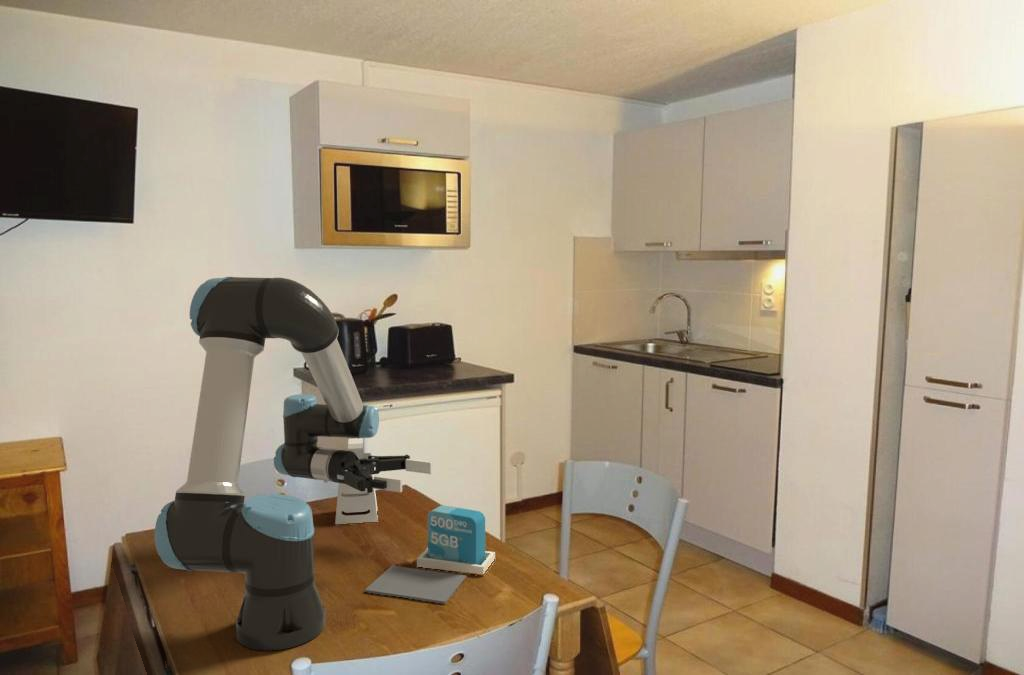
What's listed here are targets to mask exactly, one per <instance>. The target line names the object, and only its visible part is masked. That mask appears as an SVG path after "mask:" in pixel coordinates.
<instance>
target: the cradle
mask: <svg viewBox="0 0 1024 675" xmlns="http://www.w3.org/2000/svg"><path fill="white" fill-rule="evenodd" d="M485 559H486V560H485V561H484V562H483V563H482V565H476V564H469V563H461V562H453V561H446V560H438V559H430V558H428V547H426V549H425V550H424V551H423V552H422V553H421V554H420V555H418V556H417V558H416V568H418V567H423V568H422V569H425V568H433V569H435V568H436V569H445V570H452V571H461V572H469V573H477V574H484V573H485V571H486V570H487V569H488V567H489V566H490V565H491V563H492V562H493V561H494V559H495V560H496V552H495V551H489V550H488V551H487V550H485ZM433 569H432V570H433Z"/></svg>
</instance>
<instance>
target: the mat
mask: <svg viewBox="0 0 1024 675" xmlns="http://www.w3.org/2000/svg"><path fill="white" fill-rule="evenodd" d="M466 577H467V574H460V573H452V572H445V571H437V570H430V569H423V568H414V567H413V568H412V567H406V566H399V565H398V566H397V565H391V566H390V567H389V568H387V569H386V570H385V571H384V572H383V573H382V574H381V575H380V576H378V578H376V580H374V581H373V582H371V584H370V585H368V586H367V588H365V589H364V593H365V592H368V593H367V594H371V593H373V595H377V594H380V595H379V596H384V595H388V596H387V597H391V596H397V597H396V598H398V597H403V598H402V599H404V598H409V599H408V600H411V599H415V600H414V601H418V600H422V601H421V602H425V601H430V602H429V603H431V602H436V603H435V604H438V603H443V604H442V605H447V603H448V602H449V601H450V599H451V598H452V597H453V595H454V594H455V593H456V592H457V591H456V589H457V588H458V587H459V585H460V584H461V583H462V582H463V580H464V579H465V578H466ZM466 579H467V578H466ZM463 583H464V582H463ZM463 583H462V584H463ZM462 584H461V585H462ZM459 588H460V587H459ZM459 588H458V589H459ZM458 589H457V590H458ZM455 591H456V592H455ZM454 592H455V593H454ZM453 593H454V594H453ZM451 596H452V597H451ZM450 597H451V598H450ZM449 598H450V599H449ZM447 601H448V602H447ZM446 602H447V603H446Z"/></svg>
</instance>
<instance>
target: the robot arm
mask: <svg viewBox="0 0 1024 675" xmlns="http://www.w3.org/2000/svg"><path fill="white" fill-rule="evenodd" d="M189 319H190V320H191V322H190V327H191V329H192V330H193V332H194V333H195V335H197V336H198V337H199V340H198V344H200V346H201V347H202V348H203V350H204V351H205V358H204V366H203V372H202V378H201V385H200V392H199V398H198V406H197V412H196V419H195V426H194V432H193V439H192V445H191V451H190V459H189V464H188V472H187V479H186V481H185V483H184V484H183V485H182V486H180V487H179V488H178V489H177V490H175V497H174V500H172V501H169V502H168V503H166V504H164V505H163V507H162V508H161V510H160V513H159V514H158V516H157V518H156V522H155V527H154V543H155V548H156V552H157V554H158V556H159V557H160V559H161V561H162V562H163V564H165V565H166V566H167V567H169V568H171V569H176V570H177V569H178V570H186V571H187V572H198V571H200V572H201V571H202V572H215V573H216V572H219V573H220V572H221V573H222V572H223V573H235V574H237V573H240V574H244V580H245V581H244V582H245V590H244V595H243V599H242V602H241V605H240V607H239V608H240V609H239V612H238V615H237V618H236V622H235V636H236V640H237V641H238V643H239V644H241V645H242V646H244V647H246V648H247V649H251V650H255V651H256V650H257V651H280V650H287V649H291V648H295V647H298V646H301V645H303V644H305V643H308V642H309V641H311V640H313V639H315V638H316V637H317V636H319V635H320V634H321V633H322V631H323V630H324V629H325V627H326V610H325V606H324V605H323V603H322V599H321V597H320V594H319V591H318V588H317V586H316V583H315V582H316V581H315V543H314V541H315V538H314V537H315V535H314V534H315V525H314V521H313V520H314V519H313V511H312V508H311V505H309V504H308V503H307V502H306V501H305V500H303V499H301V498H300V497H296V496H294V495H288V494H282V493H270V494H259V495H254V496H251V497H250V498H248V499H246V500H245V497H246V493H245V492H244V491H243V490H242V489H241V488H240V486H239V484H238V483H239V477H240V469H241V462H242V453H243V446H244V440H245V439H244V437H245V431H246V425H247V424H246V423H247V416H248V410H249V402H250V401H249V400H250V395H251V393H250V392H251V387H252V379H253V370H254V364H255V358H256V357H257V356H258V355H260V354H261V353H262V352H264V350H265V345H266V344H265V342H266V339H282V340H286V341H289V342H290V344H291V346H292V348H293V349H294V350H295V351H297V352H299V353H301V355H302V357H303V359H304V362H305V363H306V365H307V368H308V369H309V372H310V374H311V376H312V378H313V379H314V382H315V384H316V386H317V388H318V390H319V392H320V394H321V396H322V399H323V402H324V403H325V404H321V403H320V404H319V403H318V401H317V397H316V396H315V395H313V394H308V393H307V394H306V393H305V394H304V393H299V394H293V395H289V396H287V397H286V398H284V401H283V413H282V414H283V415H282V418H283V436H284V439H283V440H284V443H282V444H281V445H279V446H278V447H277V448H276V450H275V456H274V457H273V466H274V468H275V470H276V471H277V472H278V473H279V474H280V475H285V476H289V477H292V478H301V479H310V480H317V481H323V482H324V483H326V484H327V483H328V482H331V483H332V482H333V483H336V484H339V483H342V484H346V485H349V486H351V487H353V488H355V489H357V490H359V491H362V492H363V491H365V489H366V488H367V492H368V493H371V492H373V488H374V489H375V490H379V491H389V492H396V493H402V492H403V479H402V478H397V477H388V476H381V475H379V473H381V472H388V471H389V472H391V471H401V470H405V471H406V472H412V473H420V474H427V475H431V474H433V461H428V460H420V459H413V458H412V459H411V456H410V455H409V454H404V455H372V454H371V455H370V456H368V459H367V458H362V459H360V460H359V459H358V457H357V455H356V454H355V453H354V452H352V451H348V450H347V449H346V450H345V449H338V448H331V447H330V448H329V447H321V446H320V447H319V446H318V441H319V440H318V437H320V438H321V437H323V438H328V437H329V438H345V439H346V438H347V439H354V438H358V439H359V438H363V439H369V438H373V437H375V436H376V435H377V434H378V431H379V426H380V424H379V423H380V414H379V411H378V410H379V409H378V408H377V407H376V406H373V405H368V404H366V405H364V403H363V400H362V398H361V396H360V393H359V391H358V389H357V388H358V387H357V386H356V383H355V381H354V378H353V376H352V373H351V370H350V369H349V365H348V363H347V360H346V358H345V356H344V353H343V350H342V348H341V345H340V343H339V341H338V336H339V332H340V331H339V330H340V329H339V327H338V326H339V325H338V323H337V322H336V319H335V317H334V315H333V313H332V311H331V310H330V308H329V307H328V306H327V305H326V303H325V302H324V301H323V300H322V299H321V298H320V297H319V296H318V295H317V294H315V293H314V292H313V291H312V290H311V289H310V288H308V287H306V286H305V285H303V284H302V283H300V282H298V281H296V280H293V279H290V278H284V277H245V276H243V277H239V276H238V277H237V276H225V277H213V278H210V279H207V280H205V281H204V282H203V283H202V284H200V285H199V286H198V288H197V289H196V291H195V292H194V294H193V296H192V298H191V302H190V307H189ZM372 474H373V477H374V479H373V477H372V476H371V475H372Z"/></svg>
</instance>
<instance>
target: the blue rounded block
mask: <svg viewBox="0 0 1024 675" xmlns="http://www.w3.org/2000/svg"><path fill="white" fill-rule="evenodd" d="M427 548H428V558H430V559H438V560H446V561H453V562H461V563H469V564H476V565H482V563H483V562H484V561H485V551H486V516H485V514H484V512H482V511H481V510H480V511H478V510H475V509H474V510H473V509H468V508H464V507H463V508H462V507H456V506H450V505H446V504H442V505H439V506H437V507H436V508H434V509H432V510H431V511H429V512H428V514H427Z"/></svg>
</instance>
